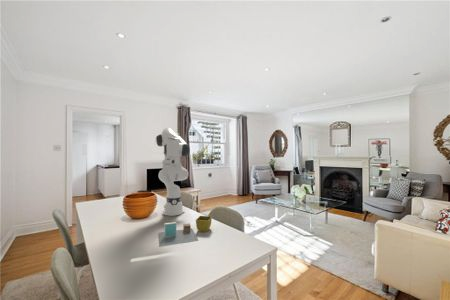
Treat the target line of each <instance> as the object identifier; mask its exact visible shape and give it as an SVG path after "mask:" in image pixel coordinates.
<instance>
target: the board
mask: <svg viewBox="0 0 450 300" xmlns="http://www.w3.org/2000/svg"><path fill="white" fill-rule="evenodd" d="M157 236H158V247H166V246H171V245H172V246H173V245H179V244H181V245H182V244H187V243H193V242H199V239H198V237H197V235H196V233H195V232H194V229H193V228H191V230H190V232H184V230H183V229H176V236H171V237H164V231H160V232H158V233H157Z"/></svg>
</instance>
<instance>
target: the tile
mask: <svg viewBox="0 0 450 300" xmlns="http://www.w3.org/2000/svg"><path fill="white" fill-rule="evenodd" d="M163 227H164V231H163V232H164V237H171V236H176V230H177V222H176V221H172V222H166V223H165V222H164V226H163Z"/></svg>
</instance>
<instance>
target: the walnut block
mask: <svg viewBox="0 0 450 300" xmlns="http://www.w3.org/2000/svg"><path fill="white" fill-rule="evenodd" d="M182 227H183V228H182V230H184V232H190V230H191V223H189V222H188V223H183V226H182Z"/></svg>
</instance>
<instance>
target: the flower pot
mask: <svg viewBox="0 0 450 300" xmlns="http://www.w3.org/2000/svg"><path fill="white" fill-rule="evenodd" d="M212 219H213V218H212V216H208V215H199V216H198V217H197V218H196V219H195V225H196V230H197V231H198V232H204V233H207V232H209V230H210V228H211V226H212Z"/></svg>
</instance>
